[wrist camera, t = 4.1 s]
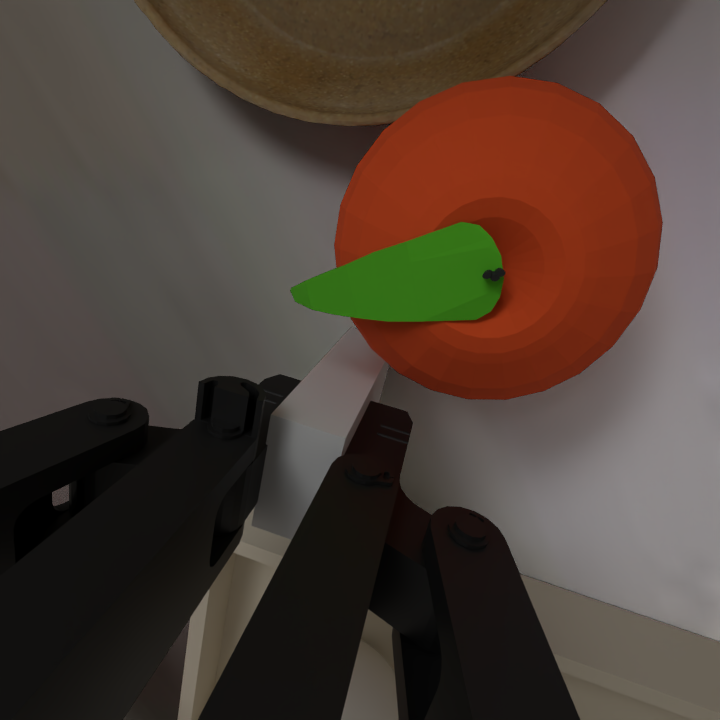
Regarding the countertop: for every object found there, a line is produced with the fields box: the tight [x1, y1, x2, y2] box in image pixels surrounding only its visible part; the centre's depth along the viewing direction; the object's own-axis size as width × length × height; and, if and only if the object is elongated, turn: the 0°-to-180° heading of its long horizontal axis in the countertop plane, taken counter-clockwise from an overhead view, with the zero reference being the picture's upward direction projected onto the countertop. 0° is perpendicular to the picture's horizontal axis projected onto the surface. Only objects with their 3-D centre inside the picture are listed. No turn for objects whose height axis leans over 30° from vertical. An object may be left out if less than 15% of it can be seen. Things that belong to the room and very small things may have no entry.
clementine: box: [290, 76, 663, 400], centre depth 11 cm, size 8×7×7 cm
